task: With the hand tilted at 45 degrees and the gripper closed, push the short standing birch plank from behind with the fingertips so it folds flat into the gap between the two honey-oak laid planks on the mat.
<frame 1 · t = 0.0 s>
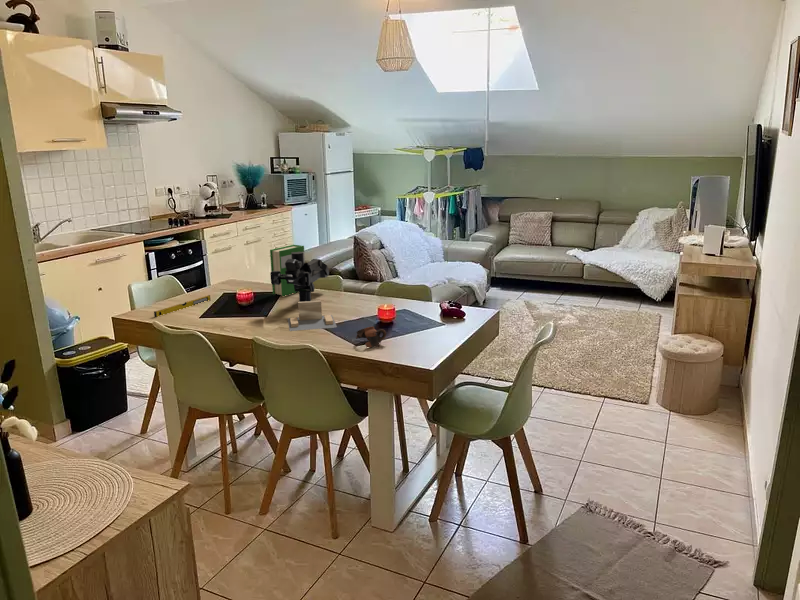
hand: (283, 282, 273), 17 cm above the table, tool horizontal, fingers open, 9 cm apart
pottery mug: (371, 344, 241), on the table
birch plank: (310, 319, 270), point 1 cm above the table, touching plank mat
spirit level: (184, 309, 294), on the table
hardback book: (289, 292, 322), on the table
plank mat: (311, 322, 269), on the table
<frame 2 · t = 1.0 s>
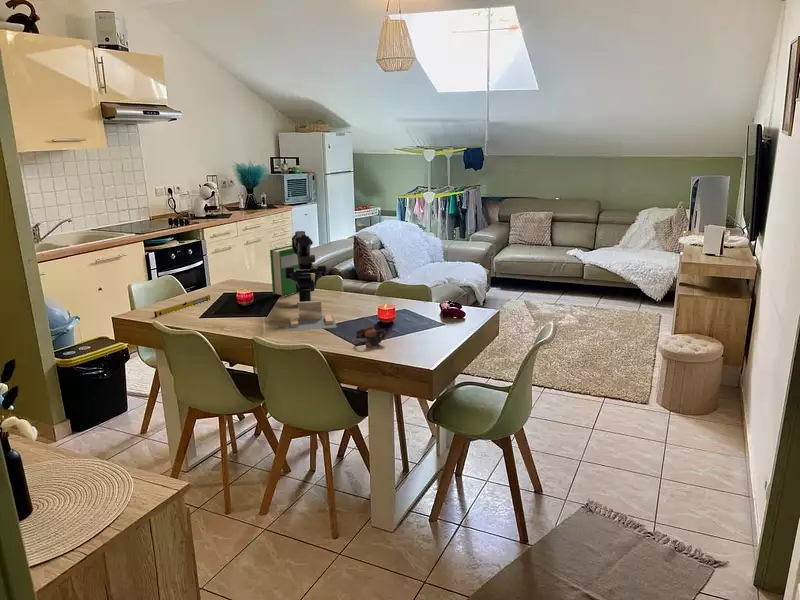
hand: (307, 287, 275), 14 cm above the table, tool tilted 45°, fingers open, 7 cm apart
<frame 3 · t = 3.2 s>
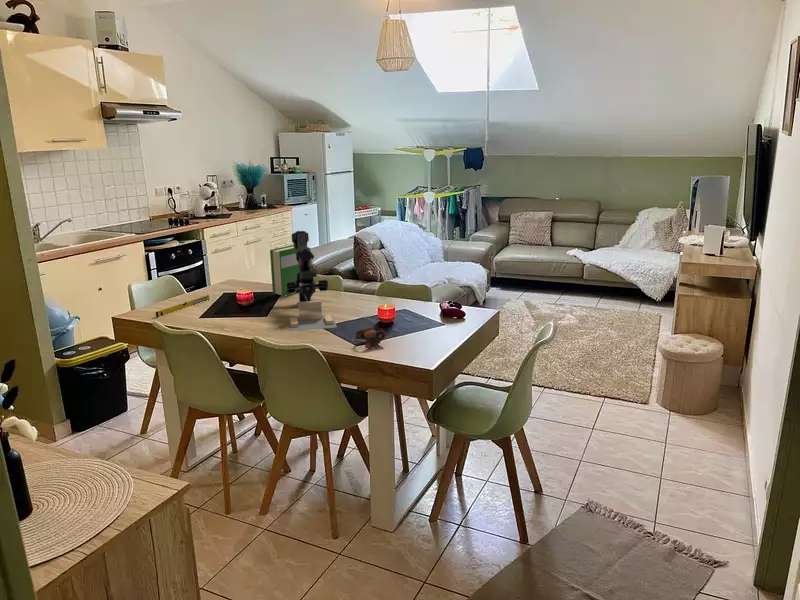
hand: (308, 302, 274), 8 cm above the table, tool tilted 45°, fingers closed
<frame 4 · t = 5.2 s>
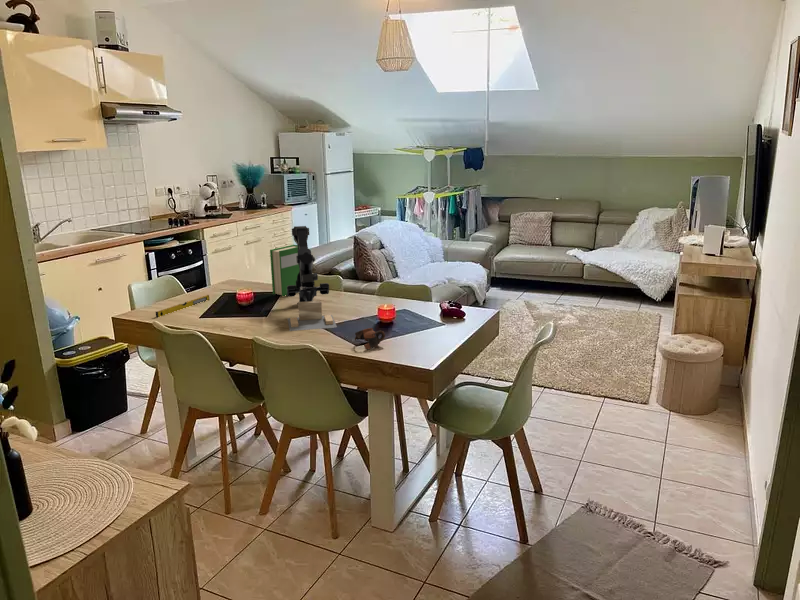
hand: (309, 306, 269), 7 cm above the table, tool tilted 45°, fingers closed, pressing on birch plank
birch plank: (310, 318, 270), point 1 cm above the table, tilted 7°, touching gripper, plank mat
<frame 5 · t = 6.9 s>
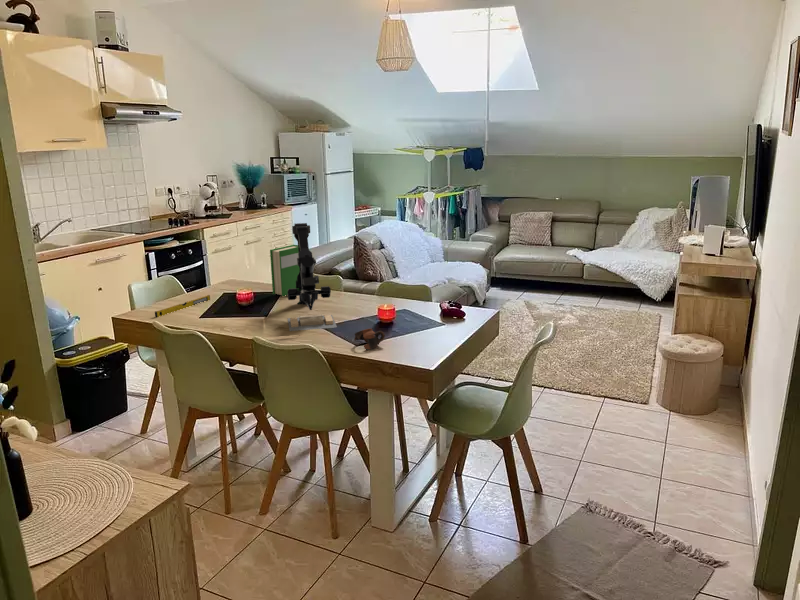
hand: (310, 309, 264), 7 cm above the table, tool tilted 45°, fingers closed
birch plank: (310, 317, 269), point 2 cm above the table, tilted 90°, touching plank mat
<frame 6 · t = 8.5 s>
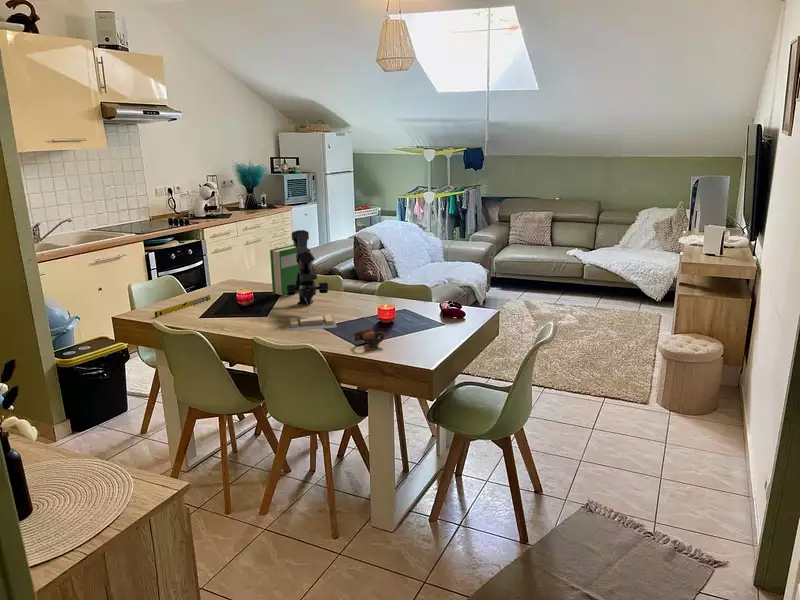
hand: (309, 304, 273), 6 cm above the table, tool tilted 45°, fingers closed
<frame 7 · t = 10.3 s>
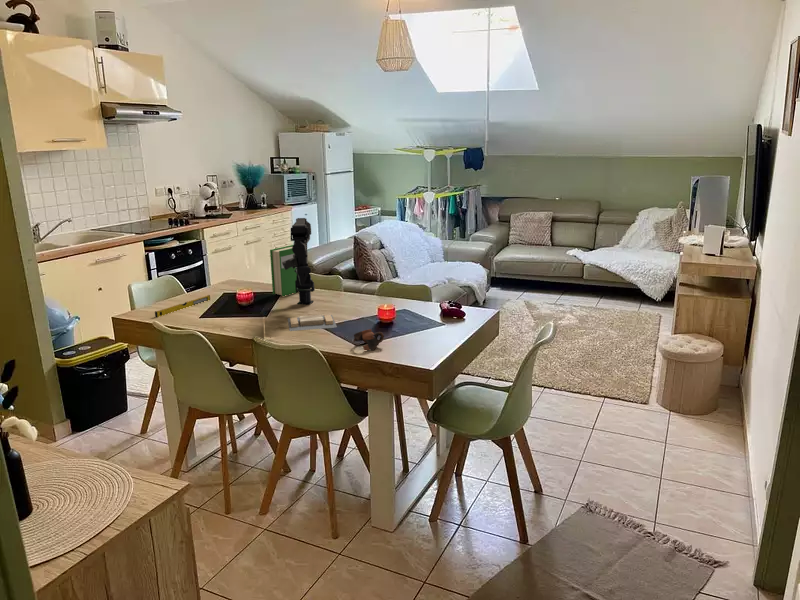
hand: (302, 285, 281), 13 cm above the table, tool pointing down, fingers closed
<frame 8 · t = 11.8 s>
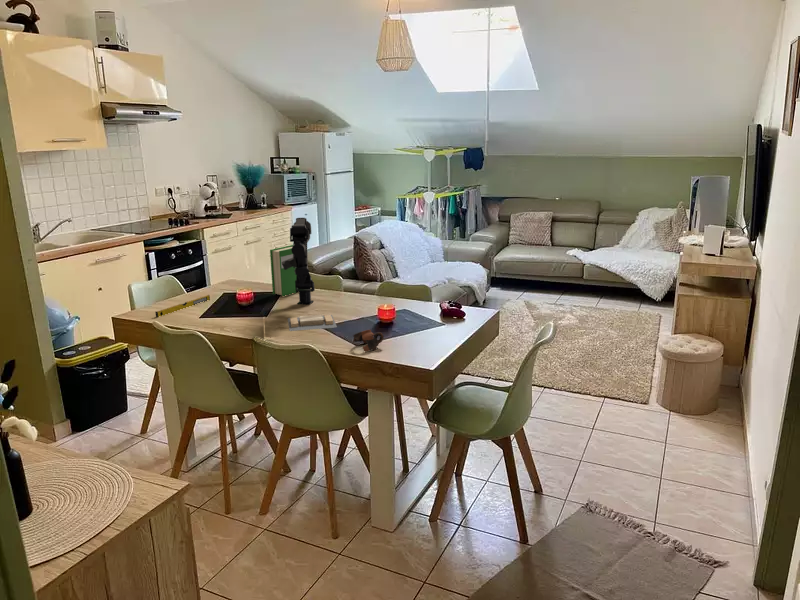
hand: (301, 285, 281), 13 cm above the table, tool pointing down, fingers closed
at the end: birch plank tilted 90°; birch plank inside the target area on the plank mat (0.5 cm from its centre), point 2.2 cm above the plank mat's base; birch plank touching plank mat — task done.
